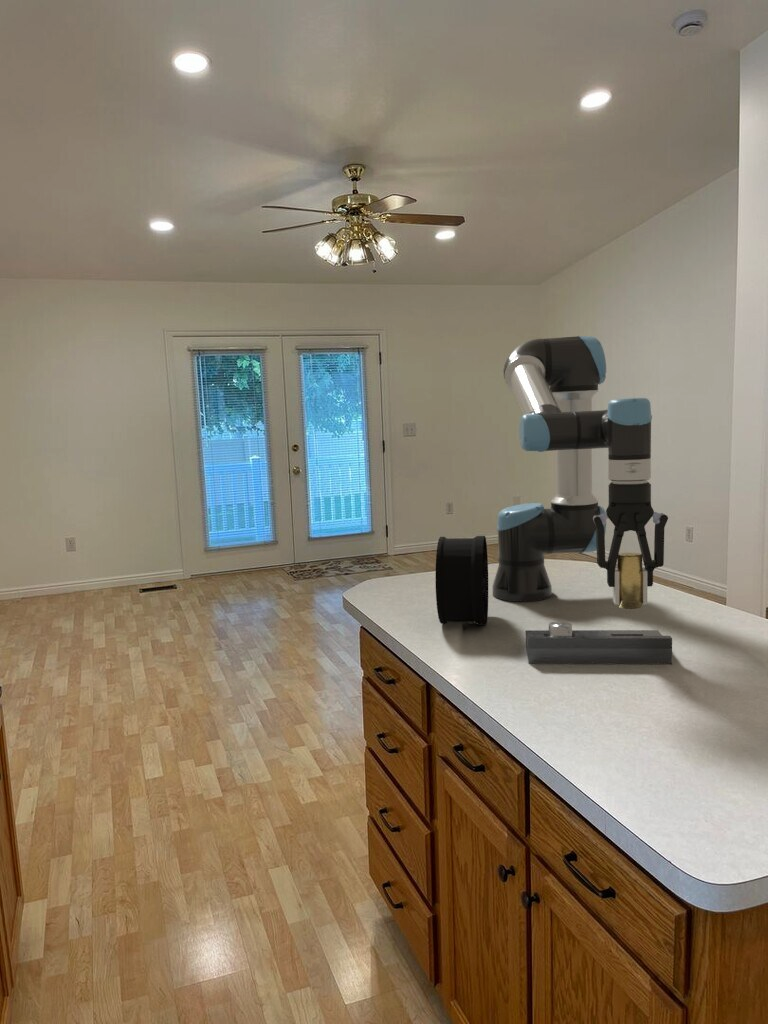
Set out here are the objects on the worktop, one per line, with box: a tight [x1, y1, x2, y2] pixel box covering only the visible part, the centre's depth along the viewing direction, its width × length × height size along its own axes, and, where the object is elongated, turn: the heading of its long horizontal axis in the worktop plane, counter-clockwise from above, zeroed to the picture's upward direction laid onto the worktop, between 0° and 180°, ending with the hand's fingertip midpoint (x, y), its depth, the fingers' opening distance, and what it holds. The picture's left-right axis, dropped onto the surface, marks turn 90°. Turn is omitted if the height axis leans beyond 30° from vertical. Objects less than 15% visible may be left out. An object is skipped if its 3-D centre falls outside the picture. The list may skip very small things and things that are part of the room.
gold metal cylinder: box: [617, 552, 643, 610], centre depth 134 cm, size 4×4×10 cm
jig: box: [524, 629, 673, 665], centre depth 137 cm, size 11×26×5 cm, turn 81°
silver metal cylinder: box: [548, 620, 573, 636], centre depth 138 cm, size 4×4×6 cm
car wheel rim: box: [435, 535, 489, 625], centre depth 160 cm, size 20×10×20 cm, turn 168°
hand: (629, 602), depth 134 cm, fingers closed on gold metal cylinder, 4 cm apart
